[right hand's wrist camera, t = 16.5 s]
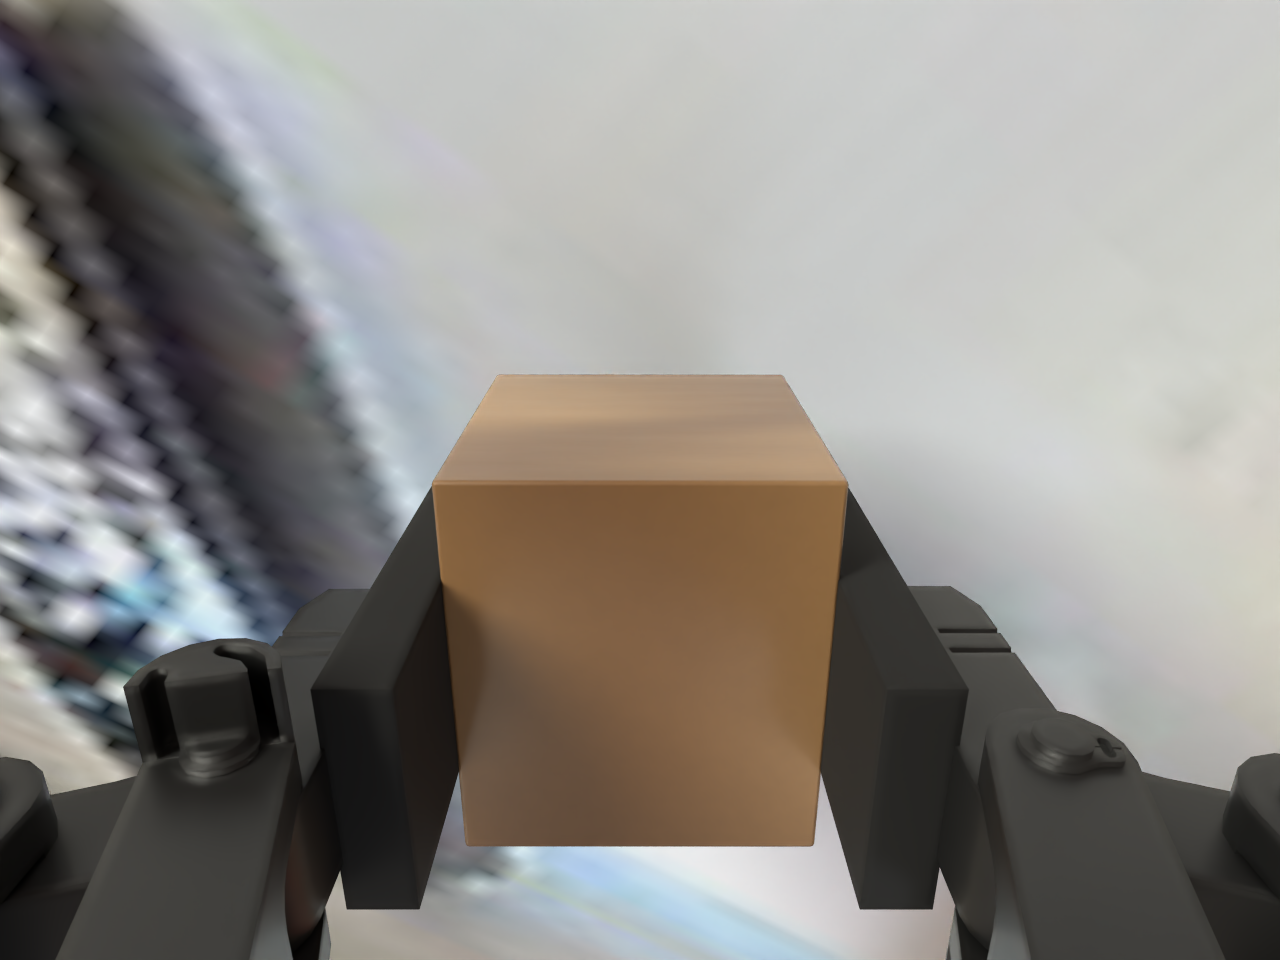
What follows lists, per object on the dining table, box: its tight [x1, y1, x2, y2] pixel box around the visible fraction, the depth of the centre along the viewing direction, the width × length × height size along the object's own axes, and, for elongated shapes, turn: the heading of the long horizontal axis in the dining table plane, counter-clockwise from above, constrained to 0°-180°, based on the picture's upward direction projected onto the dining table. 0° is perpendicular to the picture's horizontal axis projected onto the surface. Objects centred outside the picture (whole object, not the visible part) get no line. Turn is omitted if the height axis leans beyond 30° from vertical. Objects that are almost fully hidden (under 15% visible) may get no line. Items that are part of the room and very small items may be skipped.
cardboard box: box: [432, 375, 848, 846], centre depth 13 cm, size 5×5×5 cm
